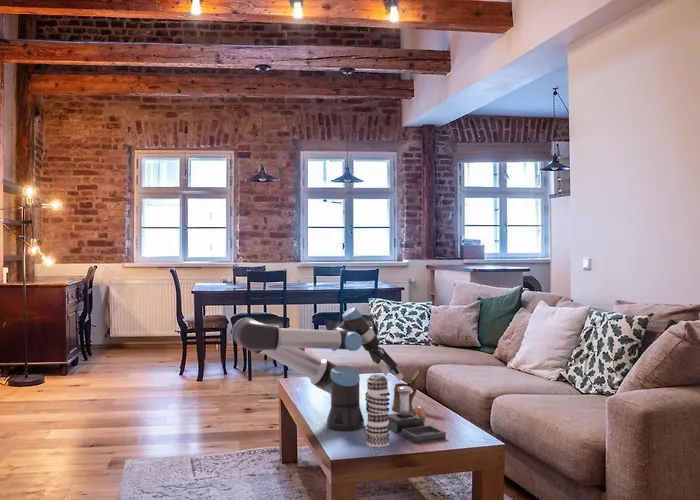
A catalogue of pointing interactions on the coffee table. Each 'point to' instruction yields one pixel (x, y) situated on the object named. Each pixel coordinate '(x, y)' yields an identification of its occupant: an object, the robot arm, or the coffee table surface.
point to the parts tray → (423, 434)
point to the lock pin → (404, 401)
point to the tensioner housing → (407, 420)
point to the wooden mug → (410, 384)
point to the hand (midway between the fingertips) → (394, 376)
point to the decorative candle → (377, 411)
